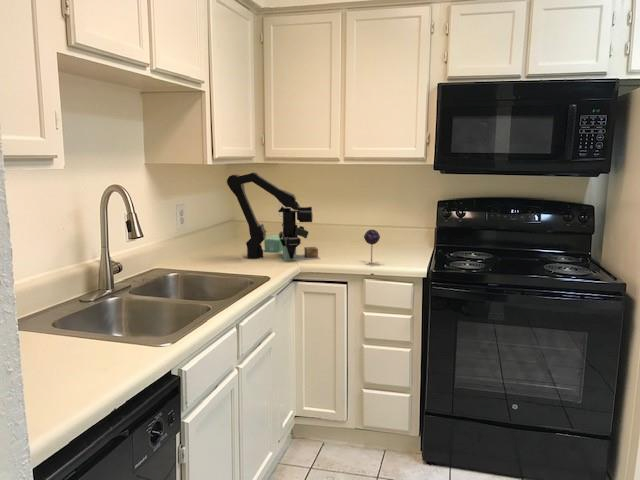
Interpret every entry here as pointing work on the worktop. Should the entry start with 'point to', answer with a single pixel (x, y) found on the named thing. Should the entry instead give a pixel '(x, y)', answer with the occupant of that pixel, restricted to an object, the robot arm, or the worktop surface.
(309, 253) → the walnut base
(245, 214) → the robot arm
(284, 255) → the teal block
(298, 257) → the board
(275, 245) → the box
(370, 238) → the lollipop
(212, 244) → the worktop surface
